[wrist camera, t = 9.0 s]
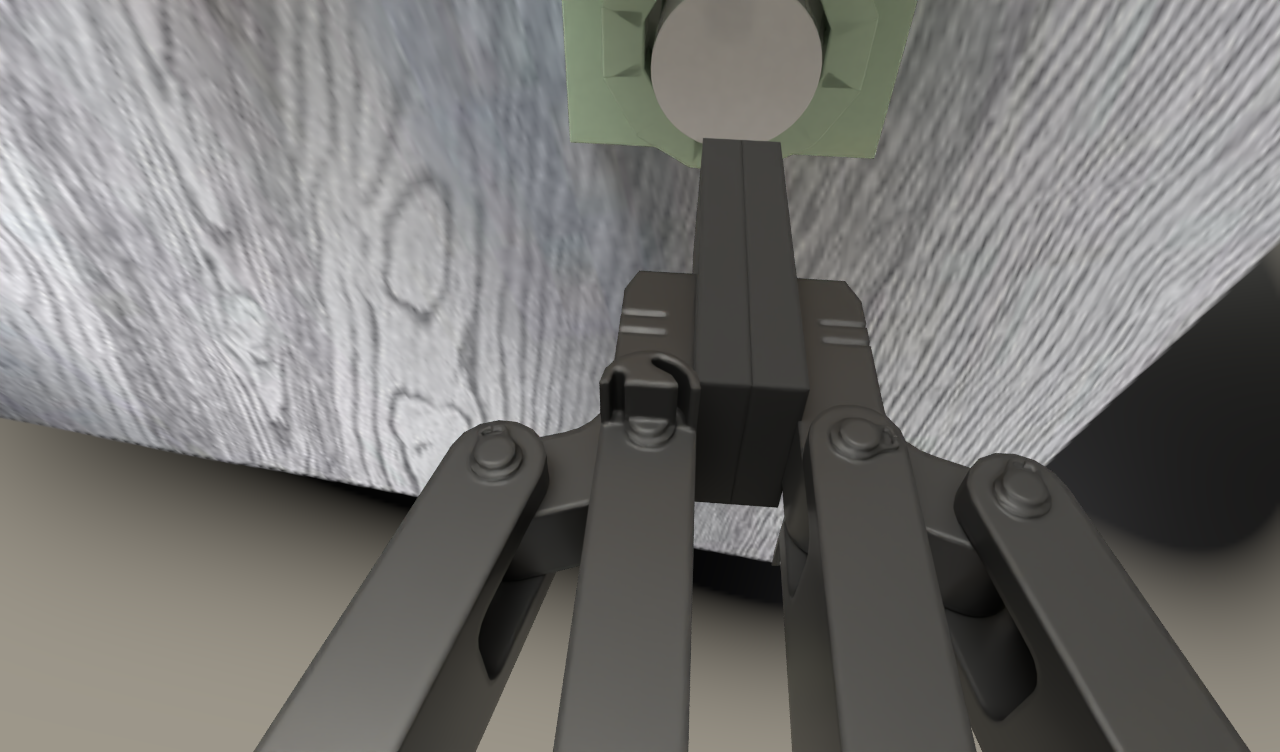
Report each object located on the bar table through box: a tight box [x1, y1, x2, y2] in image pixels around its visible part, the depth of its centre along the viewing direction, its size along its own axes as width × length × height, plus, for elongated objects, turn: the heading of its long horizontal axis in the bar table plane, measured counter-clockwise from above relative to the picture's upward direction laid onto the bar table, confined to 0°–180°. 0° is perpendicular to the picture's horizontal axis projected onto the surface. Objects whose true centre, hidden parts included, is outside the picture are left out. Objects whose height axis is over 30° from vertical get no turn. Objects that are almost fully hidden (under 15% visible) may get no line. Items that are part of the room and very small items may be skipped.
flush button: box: [651, 0, 822, 144], centre depth 19 cm, size 4×4×2 cm
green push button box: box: [562, 0, 918, 168], centre depth 21 cm, size 10×8×5 cm
